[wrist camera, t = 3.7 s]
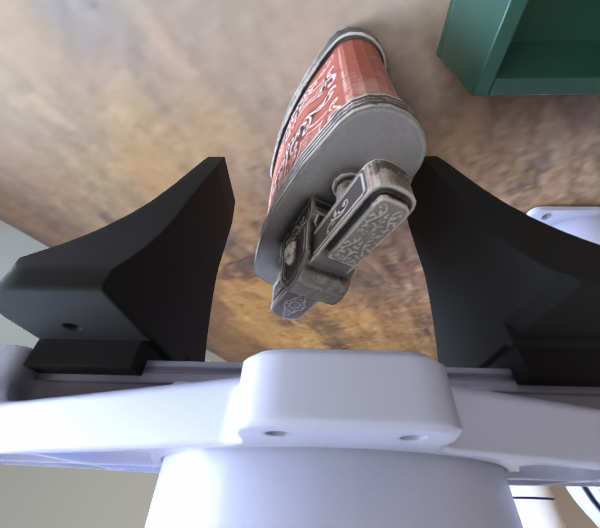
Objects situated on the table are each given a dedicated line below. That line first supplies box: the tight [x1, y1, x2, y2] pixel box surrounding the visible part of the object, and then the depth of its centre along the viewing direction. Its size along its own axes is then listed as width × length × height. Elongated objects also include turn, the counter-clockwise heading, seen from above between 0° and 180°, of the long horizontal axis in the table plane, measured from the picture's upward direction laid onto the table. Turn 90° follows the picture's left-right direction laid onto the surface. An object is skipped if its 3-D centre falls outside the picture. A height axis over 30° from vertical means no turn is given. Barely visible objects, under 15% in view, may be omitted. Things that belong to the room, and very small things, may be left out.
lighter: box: [254, 27, 426, 320], centre depth 11 cm, size 8×3×10 cm, turn 154°
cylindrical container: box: [509, 486, 568, 528], centre depth 44 cm, size 7×7×25 cm
